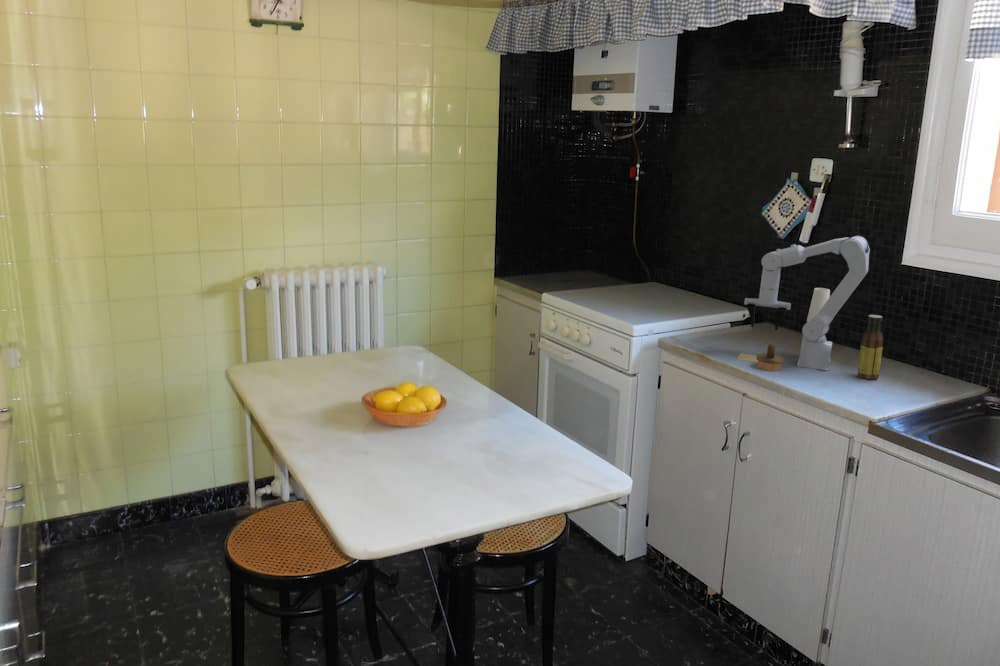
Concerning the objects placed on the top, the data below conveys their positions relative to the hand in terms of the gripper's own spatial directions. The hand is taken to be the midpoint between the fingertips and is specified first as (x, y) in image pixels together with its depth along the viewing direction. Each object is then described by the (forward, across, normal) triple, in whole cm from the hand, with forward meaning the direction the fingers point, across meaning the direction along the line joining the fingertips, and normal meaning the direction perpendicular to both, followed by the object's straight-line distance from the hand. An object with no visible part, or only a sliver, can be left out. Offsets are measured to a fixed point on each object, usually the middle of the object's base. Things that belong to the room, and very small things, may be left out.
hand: (764, 327), depth 267 cm
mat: (+10, +2, +6) cm, 12 cm away
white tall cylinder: (+10, -16, -5) cm, 20 cm away
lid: (+7, -4, +14) cm, 16 cm away
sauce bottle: (+10, -33, +7) cm, 35 cm away
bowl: (+10, -4, +14) cm, 18 cm away
